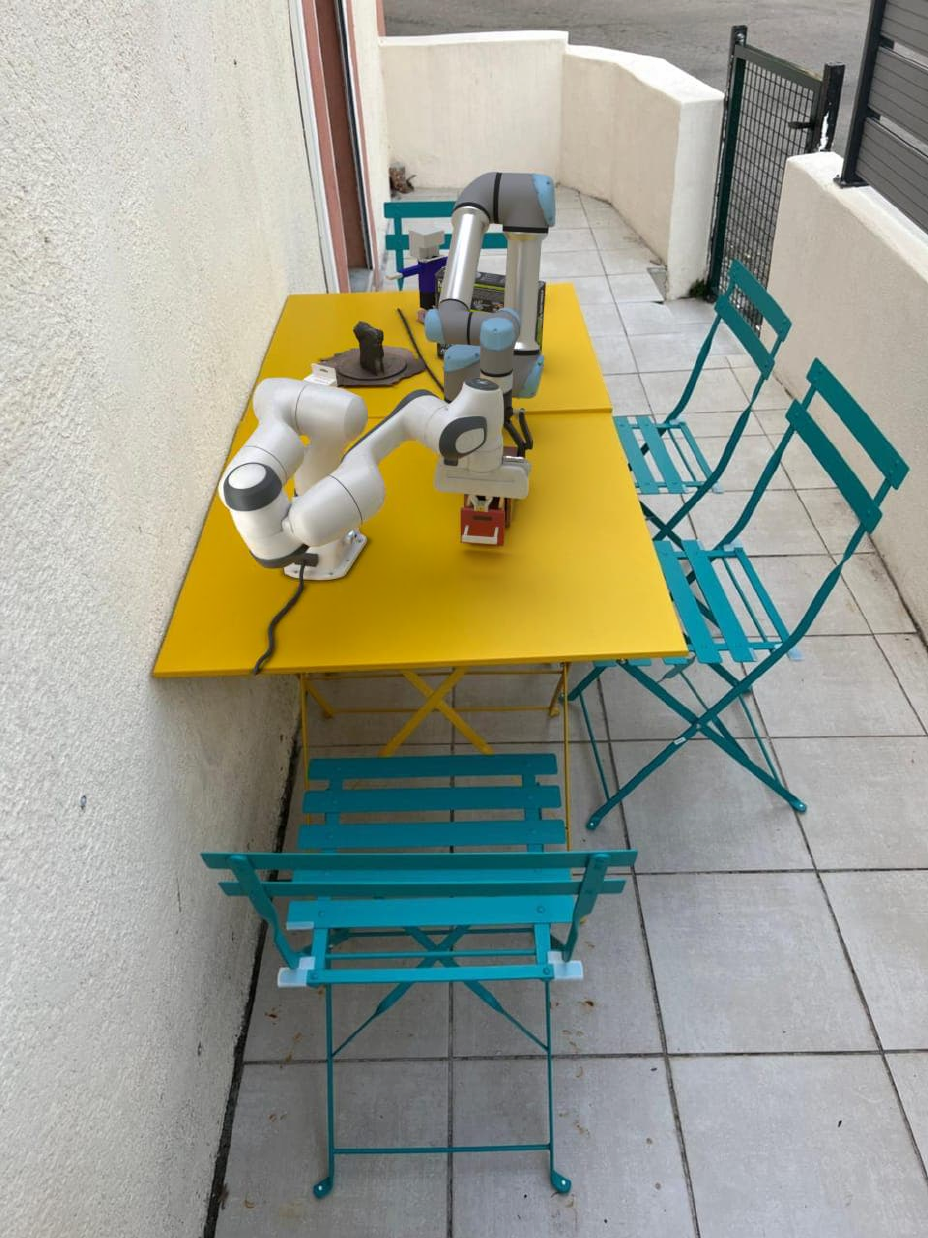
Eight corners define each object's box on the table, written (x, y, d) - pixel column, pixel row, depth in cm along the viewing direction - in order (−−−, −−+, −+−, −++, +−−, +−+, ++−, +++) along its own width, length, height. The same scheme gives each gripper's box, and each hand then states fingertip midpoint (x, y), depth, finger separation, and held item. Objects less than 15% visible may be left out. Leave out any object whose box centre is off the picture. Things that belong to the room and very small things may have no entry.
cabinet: (510, 526, 210) (511, 486, 203) (463, 522, 211) (463, 483, 204) (517, 484, 225) (519, 446, 219) (474, 481, 227) (474, 443, 220)
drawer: (500, 560, 196) (501, 527, 191) (456, 557, 197) (456, 524, 192) (511, 504, 216) (512, 472, 210) (471, 501, 217) (471, 469, 211)
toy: (460, 304, 319) (459, 216, 299) (477, 312, 313) (477, 222, 294) (381, 329, 302) (375, 237, 283) (398, 337, 296) (393, 244, 277)
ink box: (306, 417, 253) (300, 368, 244) (316, 410, 257) (310, 362, 247) (331, 424, 250) (326, 375, 241) (341, 416, 254) (336, 368, 244)
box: (542, 365, 279) (547, 279, 262) (535, 374, 274) (539, 287, 257) (444, 349, 289) (443, 265, 272) (435, 358, 284) (433, 273, 266)
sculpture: (406, 397, 263) (403, 345, 252) (297, 384, 270) (290, 333, 259) (437, 352, 287) (436, 303, 277) (336, 341, 294) (331, 293, 284)
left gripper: (533, 450, 184) (530, 506, 193) (436, 442, 187) (438, 498, 196) (529, 465, 179) (527, 522, 188) (431, 457, 182) (432, 513, 191)
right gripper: (547, 383, 206) (542, 466, 220) (448, 378, 209) (449, 460, 223) (545, 398, 201) (540, 482, 215) (443, 392, 203) (445, 475, 217)
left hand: (481, 510), depth 192 cm, fingers closed
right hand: (494, 471), depth 219 cm, fingers closed on cabinet, 11 cm apart
